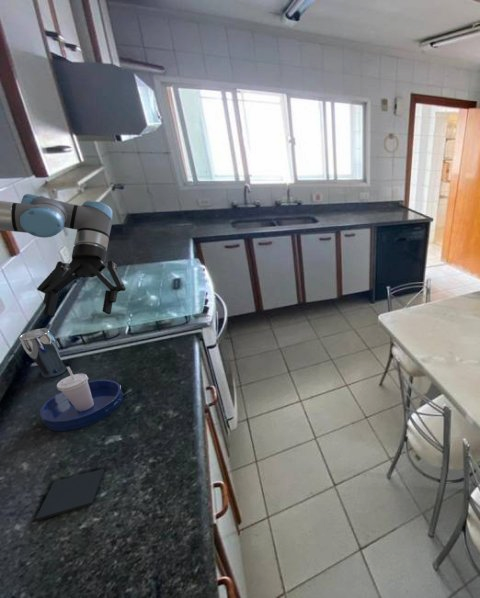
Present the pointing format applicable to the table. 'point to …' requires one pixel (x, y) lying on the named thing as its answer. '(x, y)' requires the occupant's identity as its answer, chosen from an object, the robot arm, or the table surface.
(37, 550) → the table surface
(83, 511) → the table surface
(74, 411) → the bowl
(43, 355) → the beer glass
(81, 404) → the smoothie
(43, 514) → the mat
